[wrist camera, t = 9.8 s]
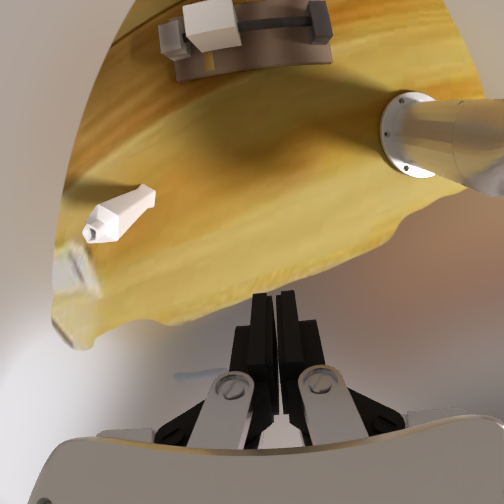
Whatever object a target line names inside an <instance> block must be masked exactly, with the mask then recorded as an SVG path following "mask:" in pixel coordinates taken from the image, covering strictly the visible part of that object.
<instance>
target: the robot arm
mask: <svg viewBox="0 0 504 504" xmlns="http://www.w3.org/2000/svg"><path fill="white" fill-rule="evenodd" d="M399 100H400V102H399ZM384 133H386V136H385V135H384ZM380 139H381V144H382V147H383V150H384V152H385V154H386V156H387V158H388V159H389V161H390V162H391V163H392V164H393V166H394V167H396V168H397V169H398V170H399V171H401V172H402V173H404V174H406V175H409V176H411V177H415V178H427V177H431V176H433V175H435V174H436V175H439V176H442V177H444V178H447V179H449V180H452V181H454V182H457V183H459V184H461V185H464V186H466V187H468V188H471V189H473V190H475V191H477V192H480V193H482V194H485V195H488V196H491V197H503V196H504V99H464V100H440V101H436V100H435V99H434V98H432V97H431V96H429V95H426V94H424V93H420V92H407V93H403V94H400V95H398V96H396V97H395V98H393V99H392V100H391V101H390V102H389V103H388V104H387V106H386V107H385V109H384V111H383V114H382V117H381V120H380ZM404 166H405V168H404ZM276 309H277V334H278V335H277V336H278V348H277V338H276V329H275V320H274V310H273V301H272V296H267V294H266V293H257V294H253V299H252V310H251V323H250V325H249V326H237V327H236V329H235V336H234V342H233V348H232V355H231V362H230V369H229V372H227V373H224V374H222V375H220V376H218V377H217V378H216V379H215V380H214V381H213V383H212V384H211V387H210V389H209V392H208V394H207V397H206V399H205V400H203V401H202V402H200V403H199V404H197V405H196V406H194V407H193V408H191V409H190V410H188V411H186V412H185V413H183V414H181V415H180V416H178V417H177V418H175V419H173V420H172V421H170V422H168V423H167V424H165V425H164V426H162V427H161V428H160V429H159V430H153V429H152V428H144V429H125V430H106V431H102V432H100V433H99V434H97V436H96V437H82V438H74V439H70V440H67V441H64V442H63V443H61V444H59V445H58V446H57V447H56V448H55V449H54V450H53V452H52V453H51V455H50V456H49V458H48V459H47V461H46V463H45V465H44V466H43V468H42V470H41V473H40V474H39V477H38V479H37V481H36V483H35V486H34V488H33V490H32V493H31V496H30V498H29V501H28V504H504V423H503V422H502V421H501V420H499V419H497V418H495V417H492V416H487V415H469V414H468V413H467V412H466V411H465V410H464V409H461V408H457V407H452V408H444V409H434V410H422V411H408V412H407V414H400V413H398V412H396V411H395V410H393V409H391V408H389V407H386V406H384V405H382V404H380V403H378V402H376V401H374V400H372V399H370V398H368V397H366V396H364V395H362V394H359V393H357V392H355V391H353V390H352V389H349V388H348V387H347V386H346V384H345V381H344V379H343V377H342V375H341V374H340V372H339V371H338V370H337V369H335V368H334V367H331V366H328V365H325V360H324V356H323V351H322V346H321V341H320V336H319V331H318V326H317V322H316V320H306V321H298V315H297V307H296V300H295V293H294V290H291V291H281V295H277V296H276ZM278 362H279V373H280V383H281V392H282V403H283V413H284V414H289V420H290V423H291V424H292V425H294V426H295V427H297V428H298V429H299V430H300V436H301V440H302V444H303V447H294V448H278V449H261V447H262V442H263V438H264V430H265V429H266V428H267V427H269V426H270V425H271V424H272V423H273V422H274V415H279V384H278V383H279V380H278Z"/></svg>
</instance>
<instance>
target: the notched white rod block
mask: <svg viewBox="0 0 504 504" xmlns="http://www.w3.org/2000/svg"><path fill="white" fill-rule="evenodd" d="M183 15H184V23H185V31H186V37H187V38H188V39H189V40H190V41H191V42H192V43H193V44H194V45H195V46H196V47H197V48H198V49H199V50H200V51H201V52H202V53H203V52H207V51H212V50H218V49H223V48H229V47H235V46H242V44H241V37H240V32H238V26H237V22H238V19H237V16H236V12H235V9H234V6H233V2H232V0H207V1H203V2H198V3H194V4H189V5H185V6H183Z"/></svg>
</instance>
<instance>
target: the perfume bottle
mask: <svg viewBox="0 0 504 504" xmlns="http://www.w3.org/2000/svg"><path fill="white" fill-rule="evenodd" d="M154 202H155V190H153V189H151V188H149V187H147V186H146V185H144V184H141V185H140V186H139V187H138V188H137V189H136V190H133V191H131V192H128V193H125V194H123V195H120V196H117V197H115V198H112V199H110V200H107V201H105V202H102V203H100V204H97V205H96V207H95V208H94V210H93V211H92V213H91V214H90V215H89V217H88V218H87V220H86V223H87V225H86V226H85V228H84V229H83V231H82V234H83V236H84V238H85V239H86V241H87V243H97V242H98V243H104V242H112V241H117V240H118V239H119V238H120V237H121V236H122V235H123V234H124V233H125V232H126V231H127V229H128V228H129V227H130V226H131V225H132V224H133V223H134V222H135V221H136V220H137V219H138V218H139V217H140V216H141V214H142V213H143V212H144V211H145V210H146V209H147V208H152V207H154Z"/></svg>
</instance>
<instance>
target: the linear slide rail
mask: <svg viewBox="0 0 504 504" xmlns="http://www.w3.org/2000/svg"><path fill="white" fill-rule="evenodd" d="M233 6H234V9H235V12H236V16H237V19H238V22H237V26H238V32H240V37H241V44H242V46H235V47H229V48H223V49H218V50H212V51H207V52H203V53H202V52H201V51H200V50H199V49H198V48H197V47H196V46H195V45H194V44H193V43H192V42H191V41H190V40H189V39H188V38H187V37H186V31H185V23H184V15H181V16H177V17H173V18H170V19H169V22H168V23H165V24H162V25H158V30H159V40H160V49H161V54H163V55H165V56H166V57H168V58H169V59H171V60H173V61H174V66H175V73H176V80H177V82H179V83H182V82H186V81H191V80H195V79H200V78H205V77H210V76H215V75H220V74H226V73H232V72H239V71H246V70H253V69H261V68H270V67H281V66H294V65H314V64H331V63H332V62H333V60H332V54H331V48H330V43H329V40H330V39H331V38H332V36H333V33H332V28H331V23H330V19H329V14H328V10H327V6H326V2H325V1H320V0H267V1H257V2H249V3H241V4H234V5H233Z"/></svg>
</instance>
